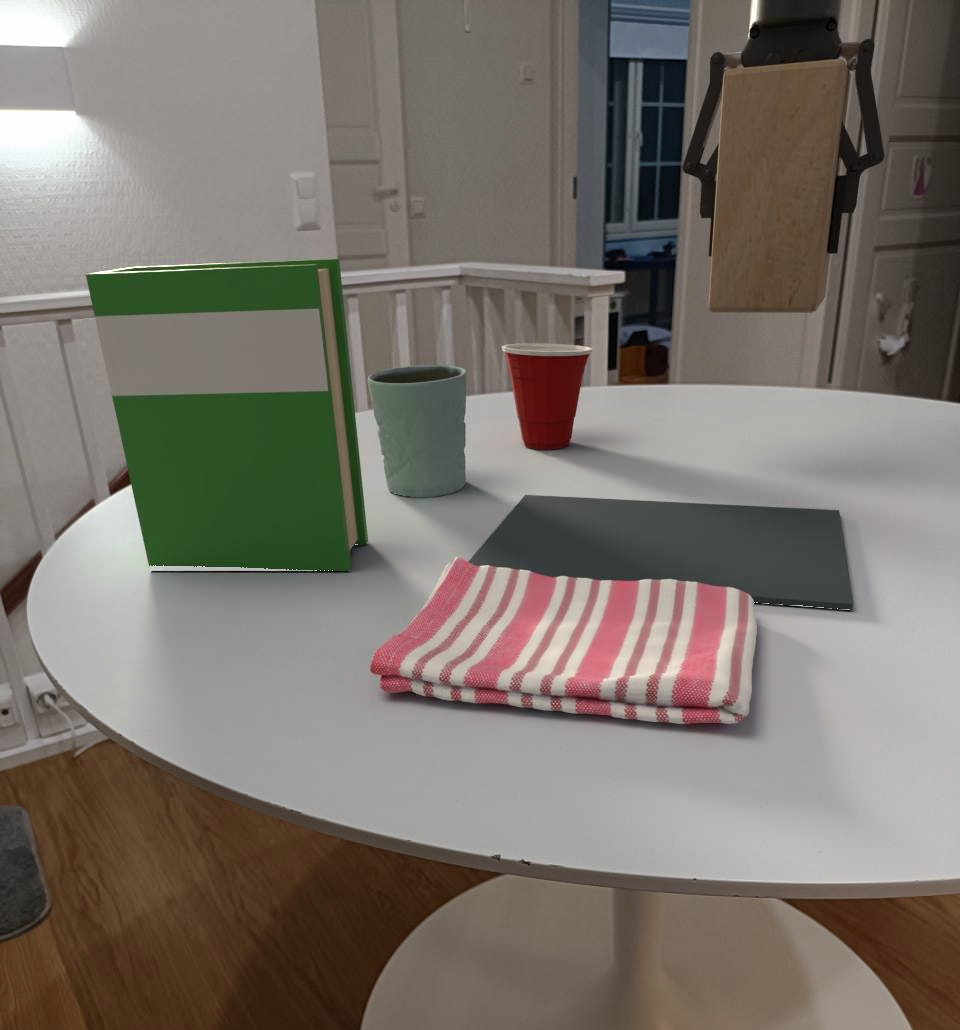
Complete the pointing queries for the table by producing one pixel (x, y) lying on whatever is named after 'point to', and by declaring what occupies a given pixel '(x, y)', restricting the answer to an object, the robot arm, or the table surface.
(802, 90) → the wooden block
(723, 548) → the mat
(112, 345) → the hardback book
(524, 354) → the plastic cup
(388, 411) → the green ceramic cup
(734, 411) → the table surface
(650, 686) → the dish towel
